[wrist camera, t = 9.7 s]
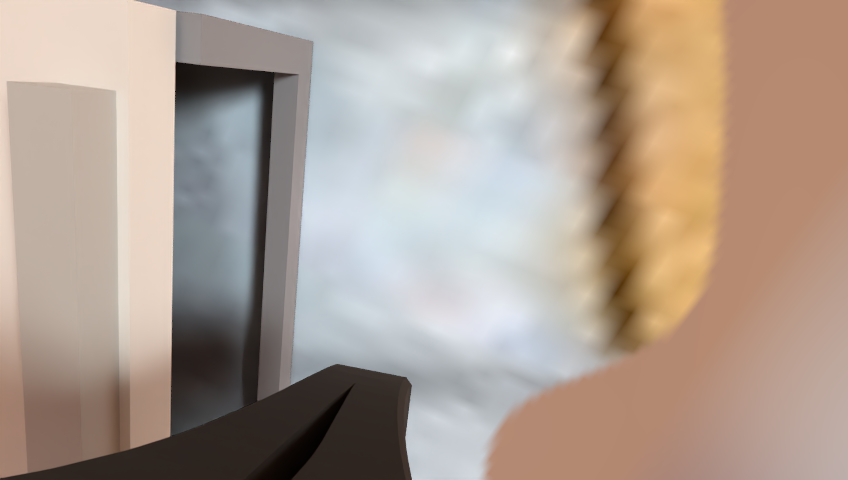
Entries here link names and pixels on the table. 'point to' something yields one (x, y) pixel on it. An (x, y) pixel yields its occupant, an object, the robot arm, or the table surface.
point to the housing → (292, 66)
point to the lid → (85, 229)
